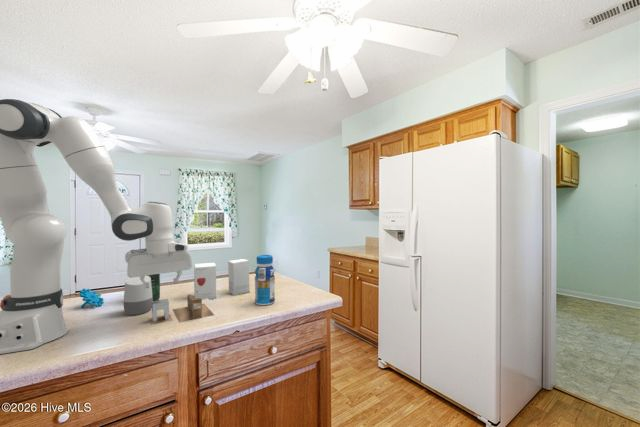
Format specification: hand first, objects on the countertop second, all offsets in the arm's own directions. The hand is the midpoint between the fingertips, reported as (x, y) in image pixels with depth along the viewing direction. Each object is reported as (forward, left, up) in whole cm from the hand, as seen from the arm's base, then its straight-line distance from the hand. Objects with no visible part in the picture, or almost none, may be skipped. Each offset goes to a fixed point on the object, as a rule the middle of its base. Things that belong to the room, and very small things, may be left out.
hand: (161, 285), depth 102 cm
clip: (-1, 0, -12) cm, 12 cm away
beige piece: (+6, +1, -13) cm, 14 cm away
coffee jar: (-2, +30, -13) cm, 33 cm away
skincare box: (+34, +18, -13) cm, 41 cm away
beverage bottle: (+38, -3, -13) cm, 41 cm away
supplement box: (+19, +20, -13) cm, 31 cm away
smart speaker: (-7, +14, -13) cm, 20 cm away
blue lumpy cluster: (-22, +35, -13) cm, 43 cm away
